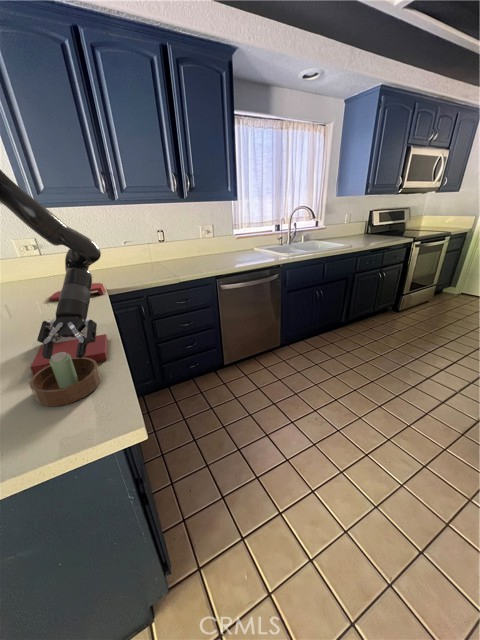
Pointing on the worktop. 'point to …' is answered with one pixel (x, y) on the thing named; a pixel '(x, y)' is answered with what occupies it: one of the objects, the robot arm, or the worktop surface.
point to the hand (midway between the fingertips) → (63, 358)
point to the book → (73, 351)
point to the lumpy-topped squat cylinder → (70, 337)
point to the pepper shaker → (63, 369)
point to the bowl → (51, 395)
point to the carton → (93, 288)
